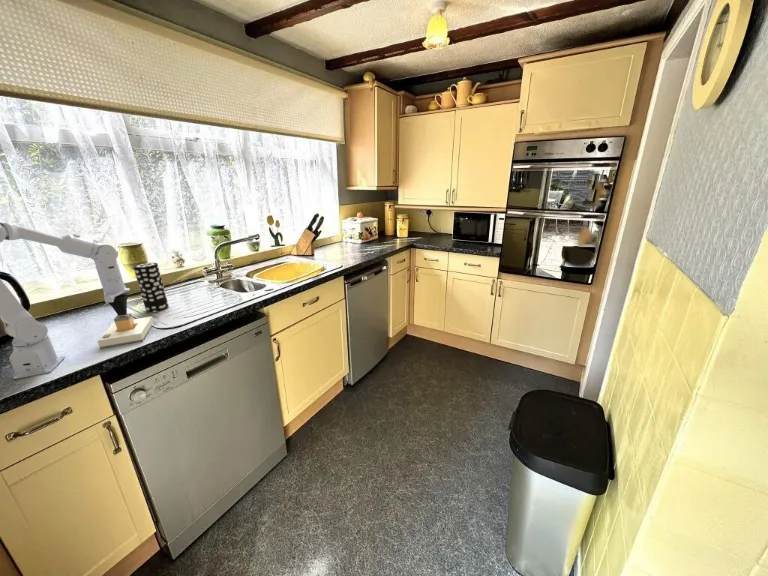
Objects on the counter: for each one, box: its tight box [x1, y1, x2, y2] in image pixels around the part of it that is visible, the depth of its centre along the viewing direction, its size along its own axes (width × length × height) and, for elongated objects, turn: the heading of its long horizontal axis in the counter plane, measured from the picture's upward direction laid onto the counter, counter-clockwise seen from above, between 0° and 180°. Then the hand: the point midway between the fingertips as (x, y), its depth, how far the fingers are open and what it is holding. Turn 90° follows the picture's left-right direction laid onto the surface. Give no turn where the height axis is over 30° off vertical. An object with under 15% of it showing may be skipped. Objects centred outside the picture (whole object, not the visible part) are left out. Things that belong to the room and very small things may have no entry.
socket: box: [97, 316, 154, 350], centre depth 112 cm, size 16×12×3 cm
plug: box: [113, 312, 135, 332], centre depth 111 cm, size 4×4×7 cm
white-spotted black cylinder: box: [133, 262, 170, 313], centre depth 133 cm, size 8×8×20 cm
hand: (122, 314), depth 110 cm, fingers closed
